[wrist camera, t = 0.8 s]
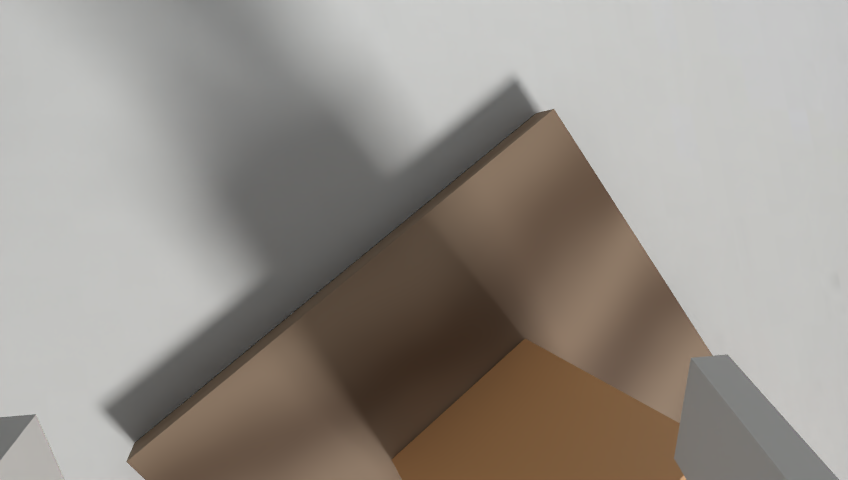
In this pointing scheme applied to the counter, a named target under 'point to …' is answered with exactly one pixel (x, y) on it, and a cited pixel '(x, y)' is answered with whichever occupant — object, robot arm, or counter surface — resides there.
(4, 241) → the counter surface
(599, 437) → the sleeve
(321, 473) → the stand
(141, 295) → the counter surface
